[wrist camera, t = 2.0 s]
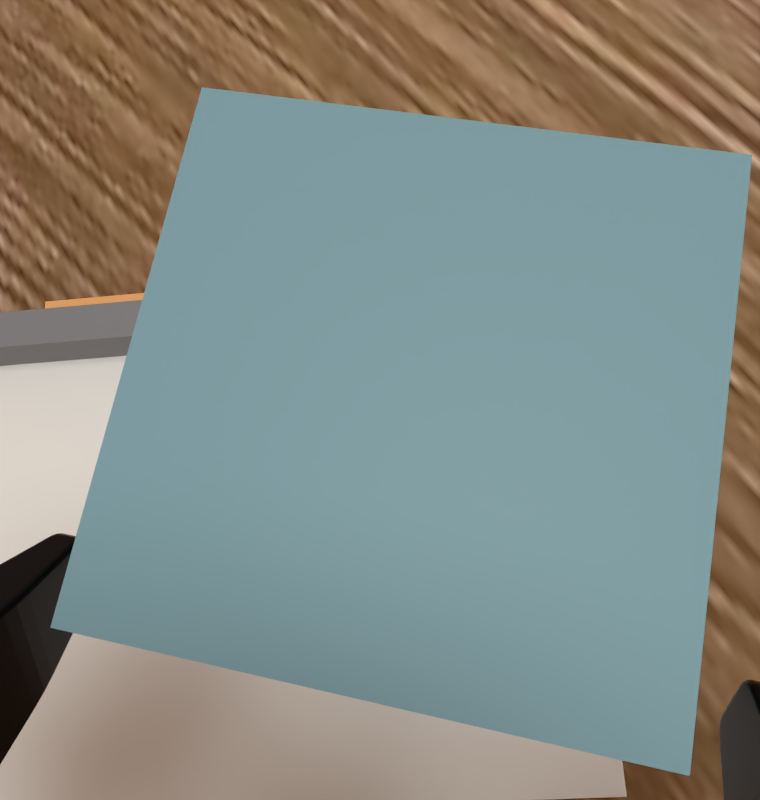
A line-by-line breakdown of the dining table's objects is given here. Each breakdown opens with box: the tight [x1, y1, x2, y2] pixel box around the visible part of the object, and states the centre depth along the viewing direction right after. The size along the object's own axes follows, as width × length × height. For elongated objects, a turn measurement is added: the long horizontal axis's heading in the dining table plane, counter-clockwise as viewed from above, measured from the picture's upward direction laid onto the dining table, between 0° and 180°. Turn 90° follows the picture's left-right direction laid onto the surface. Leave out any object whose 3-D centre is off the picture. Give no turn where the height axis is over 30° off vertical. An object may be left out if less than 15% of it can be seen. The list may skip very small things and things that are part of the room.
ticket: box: [45, 293, 144, 308], centre depth 20 cm, size 1×4×2 cm, turn 94°
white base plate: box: [0, 300, 627, 800], centre depth 18 cm, size 13×18×3 cm
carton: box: [50, 87, 752, 776], centre depth 12 cm, size 5×5×13 cm
